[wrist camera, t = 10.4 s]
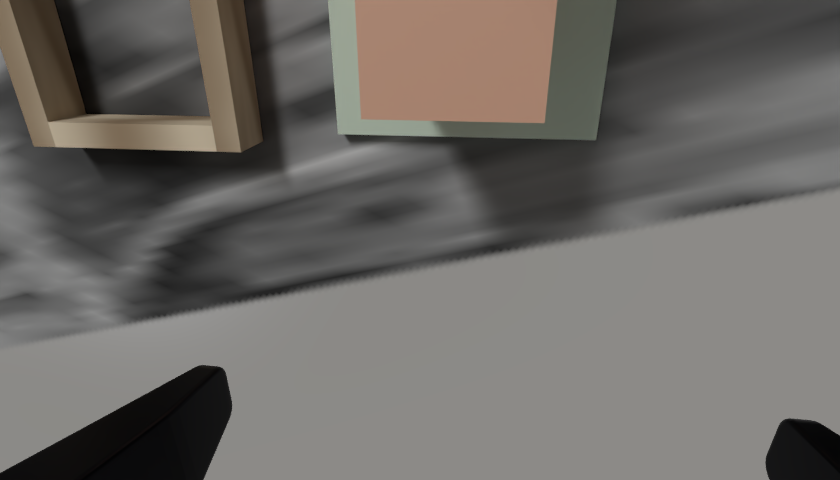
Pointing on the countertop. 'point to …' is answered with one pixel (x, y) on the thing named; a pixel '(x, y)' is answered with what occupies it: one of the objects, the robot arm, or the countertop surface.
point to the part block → (455, 59)
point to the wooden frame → (71, 127)
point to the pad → (565, 119)
